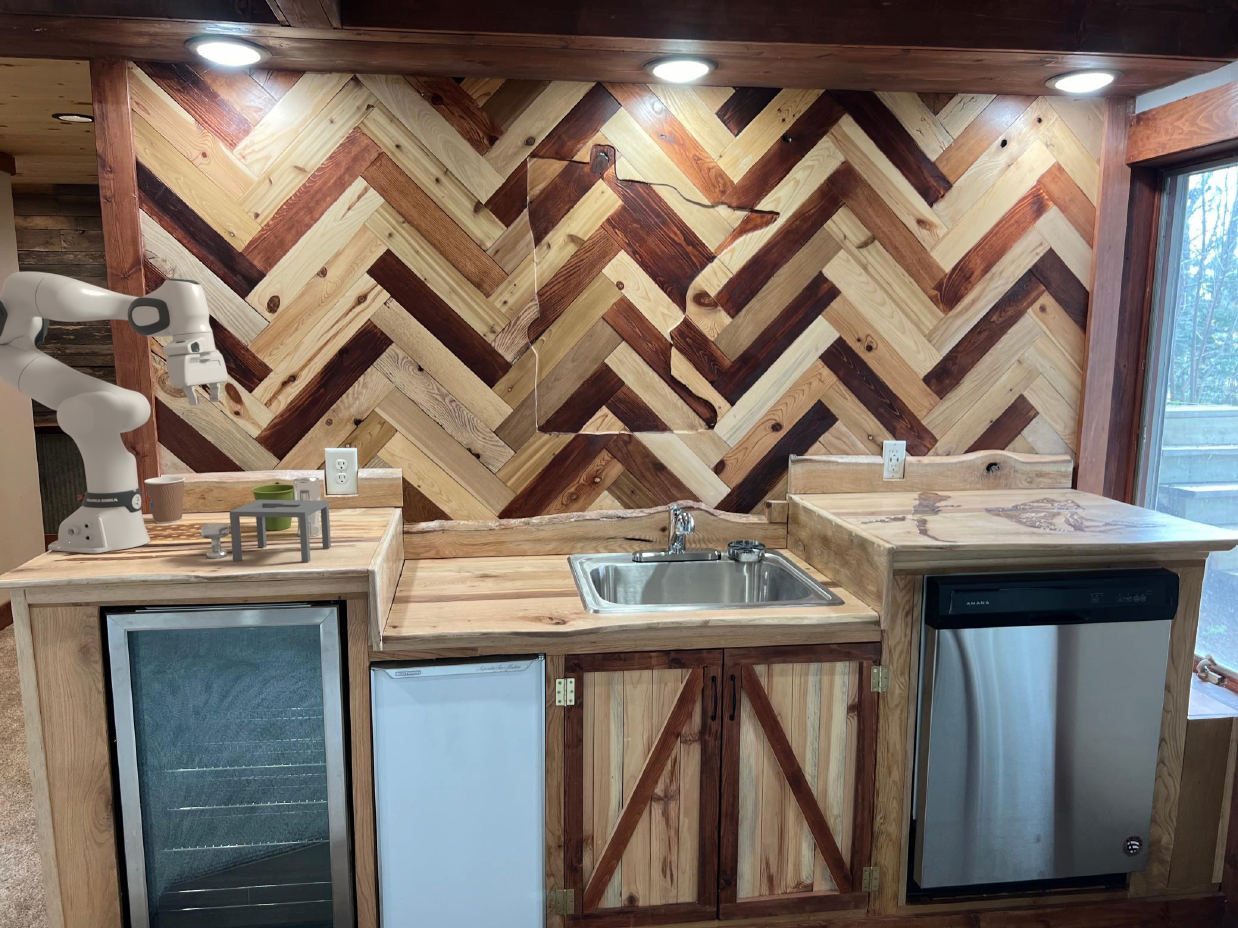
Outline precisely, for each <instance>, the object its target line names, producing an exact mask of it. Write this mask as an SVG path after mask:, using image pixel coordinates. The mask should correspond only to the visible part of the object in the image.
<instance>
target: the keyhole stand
mask: <svg viewBox="0 0 1238 928" xmlns="http://www.w3.org/2000/svg"><path fill="white" fill-rule="evenodd" d="M319 510H320V522H321V536H322V537H321V541H322V550H329V549H331V548H332V543H331V542H332V541H331V539H332V538H331V522H330V521H331V519H330V504H329V500H326V499H325V500H322V499H321V500H254V501H251V502H248V503H247V504H244V505H241V506H239V507H236V508H234V509H231V510H230V511H229V521H230V522H229V523H230V537H231V551H232V552H231V553H232V562H241V561H243V547H242V533H241V523H240V522H241V520H240V518H244V517H245V518H247V517H248V518H249V517H250V518H255V523H256V538H257V548H258V547H265V548H266V546H267V530H266V528H265V517H292V518H297V517H299V525H300V537H299V539H300V554H301V557H300V558H301V563H309V562H311V545H310V544H311V543H310V542H311V541H310V537H309V524H308V516H309V515H311V514H313V513H315V512H317V511H319ZM330 547H331V548H330Z"/></svg>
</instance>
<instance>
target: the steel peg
mask: <svg viewBox="0 0 1238 928" xmlns="http://www.w3.org/2000/svg"><path fill="white" fill-rule="evenodd" d="M229 527H230V526H229V523H227V522H226V523H225V522H215V523H213V522H212V523H207V524H203V525H201V526H200V533H201V534H200V535H201V538H202V539H207V540H208V539H210V541H211V542H210V543H211V550H209V551H207V552H206V558H207V559H209V560H218V559H224V558H226V557H227V556H228V550H227V549H222V542H221V538H225V537H228V536H230V528H229Z"/></svg>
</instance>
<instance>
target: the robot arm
mask: <svg viewBox="0 0 1238 928" xmlns="http://www.w3.org/2000/svg"><path fill="white" fill-rule="evenodd" d="M209 311H210V310H209V305H208V301H207V297H206V294H205V291H204V288H203V286H202V285H201V283H199V282H198V281H196V280H193V279H183V278H169V279H165V281H164V282H163V284H162V285H161V286H159V287H158V288H157V289H155V290H154V291H152V292H150V293H148V294H145V295H143V296H141V297H140V296H136V295H129V294H125V293H120V292H116V291H113V290H110V289H106V288H104V287H101V286H97V285H94V284H91V283H87V282H85V281H82V280H78V279H76V278H72V277H69V276H66V275H61V274H55V273H49V272H42V271H17V272H14V273H11V274H10V275H8V277H6V278H5V280H4V282H3V285H2V292H1V293H0V379H1V380H2V381H3V382H5V383H6V384H7V385H9V386H10V387H12V388H14V389H15V390H17V391H18V392H19V393H22V394H23V395H25V396H27V397H28V398H30V399H32V400H34V401H36V402H37V403H40V404H42V405H43V406H45V407H47V408H49V409H51V410H54V411H56V419H57V424H58V425H59V428H61V430H62V431H63V432H64V433H66V434H67V435H69V436H70V437H71V438H72V439H73V441H74V443H75V444H76V446H77V448H78V450H79V452H80V454H81V457H82V460H83V465H84V470H85V471H84V473H85V478H86V479H85V481H86V488H87V490H86V491H85V492H84V493H82V494H78V495H76V497H78V498H77V501H80V500H82V502H81V506H80V507H79V508H78V509H77V510H76V511H74V512H73V513H71V515H68V517H66V518H65V519H64V520H62V522H61V523H60V524H59V527H58V534H57V537H58V538H57V540H55V541H53V542H51V543H50V544H48V546H47V550H48V551H58V552H70V553H71V552H72V553H83V554H84V553H85V554H100V553H105V552H112V551H118V550H124V549H125V550H126V549H130V548H135V547H141V546H143V545H146V544H148V543H150V542H151V537H150V536H149V533H148V530H147V527H146V525H145V520H144V517H143V511H142V505H143V503H142V500H143V498H142V491H141V487H140V486H139V479H138V478H139V477H138V467H137V459H136V456H135V455H134V454H133V453H132V452H129V450H128V449H127V448H126V446H125V445H124V442H123V440H122V437H121V434H122V433H123V434H124V433H128V432H131V431H134V430H136V429H138V428H139V427H141V426H143V425H145V424H146V423H147V422H148V421H149V418H150V416H151V412H152V411H151V405H150V402H149V400H148V399H147V397H146V396H145V395H144V394H142V393H141V392H138V391H136V390H132V389H127V388H124V387H121V386H118V385H116V384H113V383H111V382H108V381H105V380H102V379H99V378H97V377H94V376H91V375H89V374H86V373H83V372H81V371H78V370H76V369H74V367H73V368H72V367H71V366H68V364H65V363H63V362H61V361H60V360H58V359H56V358H54V357H52V356H50V355H49V354H47V353H45V352H43V351H41V350H40V349H39V347H40V346H42V345H43V344H44V342H45V337H46V336H47V333H48V331H49V329H50V328H49V327H50V320H51V321H56V322H67V323H68V322H69V323H70V322H71V323H73V322H79V323H80V322H90V321H91V322H92V321H103V320H105V321H106V320H121V321H128V323H129V325H130V328H132V329H133V331H134V332H135V333H137V334H139V335H141V336H145V337H150V338H151V337H154V338H157V337H160V338H161V337H172V340H170V342H169V343H168V344H166V345H164V346H163V347H162V352H163V353H162V354H163V355H164V357H166V369H167V374H168V379H169V381H170V384H171V386H173V388H183V389H182V390H183V393H184V394H185V396H186V397H187V400H188V404H189V406H191V407H193V406H198V405H200V403H201V402H200V398H199V397H197V394H196V392H195V390H196V386H199V385H208V387H209V389H210V394H209V395H208V397H209V402H211V403H215V402H220V399H221V398H220V390H221V383H224V382H228V378H229V375H228V371H227V366H226V363H225V359H224V356H223V354H222V353H221V352H220V351H219V350H218V349H217V346H216V344H215V338H214V333H213V329H212V328H211V324H210V312H209ZM69 542H70V543H69ZM58 547H60V548H59V549H58Z"/></svg>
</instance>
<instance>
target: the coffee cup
mask: <svg viewBox="0 0 1238 928" xmlns="http://www.w3.org/2000/svg"><path fill="white" fill-rule="evenodd" d="M185 480H186V478H185V477H184V476H161V477H159V476H158V477H153V478H148V479H145V480H144V481H143V482H144V484H145V487H146V492H147V496H148V497H147V498H148V501H149V506H150V511H151V514H152V515H151V516H152V518H153V522H154V523H155V522H156V523H155V524H172V523H171V522H174V523H178V522H181V521H182V519H183V509H184V508H183V507H184V492H185V488H184V487H185ZM180 520H181V521H180ZM177 521H178V522H177Z"/></svg>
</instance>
